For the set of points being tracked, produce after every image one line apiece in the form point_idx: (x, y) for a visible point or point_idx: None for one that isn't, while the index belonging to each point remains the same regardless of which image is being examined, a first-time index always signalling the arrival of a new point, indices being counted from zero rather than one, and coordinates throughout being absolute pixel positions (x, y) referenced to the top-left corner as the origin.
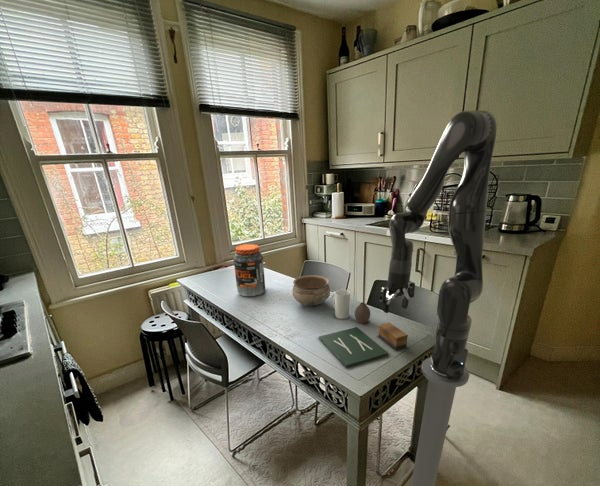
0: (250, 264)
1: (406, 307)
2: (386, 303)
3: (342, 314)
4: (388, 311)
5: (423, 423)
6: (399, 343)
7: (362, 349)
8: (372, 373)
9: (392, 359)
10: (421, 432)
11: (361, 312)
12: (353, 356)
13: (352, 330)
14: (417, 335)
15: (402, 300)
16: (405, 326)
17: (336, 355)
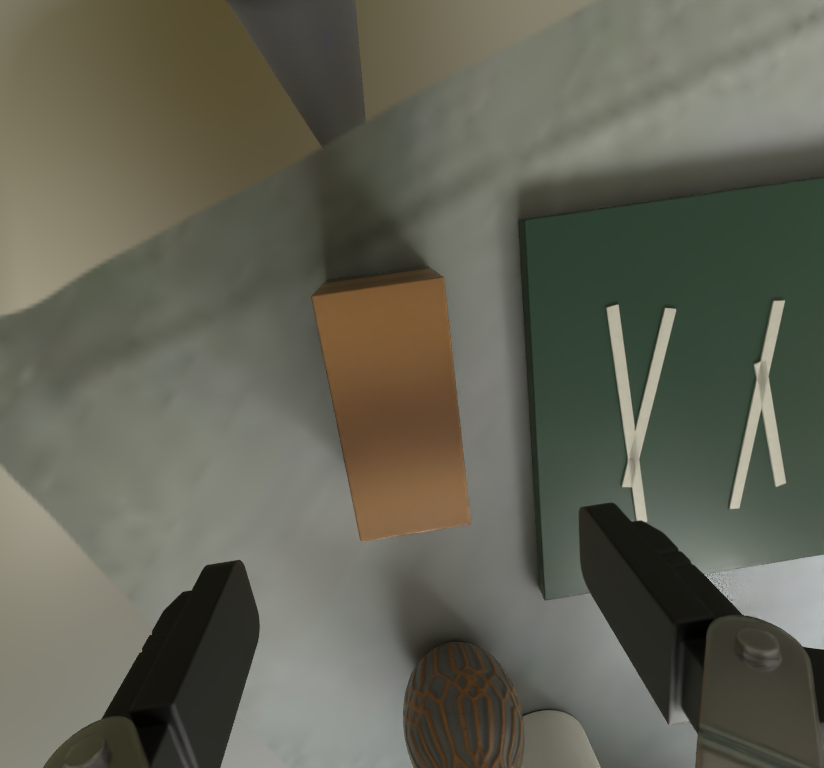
0: None
1: (209, 574)
2: (795, 641)
3: (573, 744)
4: (592, 517)
5: (356, 29)
6: (400, 275)
7: (674, 327)
8: (764, 26)
9: (519, 155)
10: (358, 53)
11: (503, 724)
12: (786, 260)
13: None
14: (151, 407)
15: (225, 743)
16: (185, 542)
17: None
